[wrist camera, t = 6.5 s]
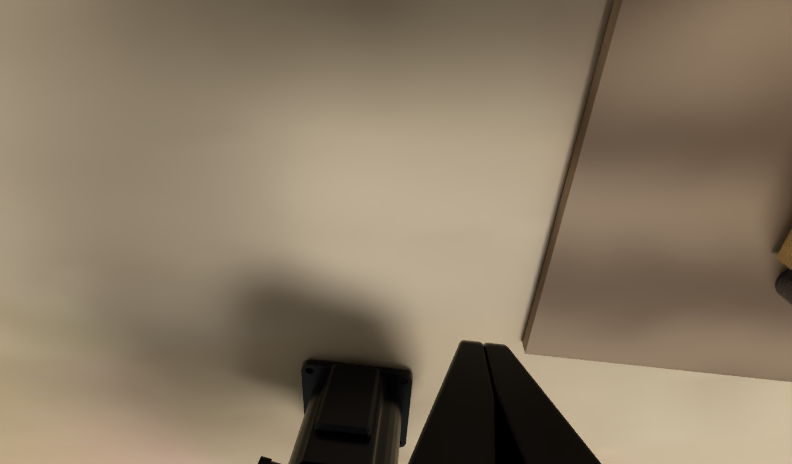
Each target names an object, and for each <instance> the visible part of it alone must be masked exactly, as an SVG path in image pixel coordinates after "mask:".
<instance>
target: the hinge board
mask: <svg viewBox="0 0 792 464" xmlns="http://www.w3.org/2000/svg"><path fill="white" fill-rule="evenodd" d="M791 229H792V0H614V2H613V6H612V10H611V13H610V17H609V21H608V25H607V28H606V32H605V36H604V40H603V43H602V47H601V51H600V54H599V58H598V62H597V66H596V69H595V73H594V77H593V81H592V84H591V88H590V92H589V96H588V99H587V103H586V107H585V111H584V114H583V118H582V122H581V126H580V129H579V133H578V137H577V141H576V144H575V148H574V152H573V156H572V159H571V163H570V167H569V171H568V174H567V178H566V182H565V186H564V189H563V193H562V197H561V201H560V204H559V208H558V212H557V216H556V219H555V223H554V227H553V230H552V234H551V238H550V242H549V245H548V249H547V253H546V257H545V260H544V264H543V268H542V272H541V275H540V279H539V283H538V287H537V290H536V294H535V298H534V302H533V305H532V309H531V313H530V317H529V320H528V324H527V328H526V332H525V335H524V339H523V347H524V351H525V354H533V355H543V356H552V357H562V358H571V359H580V360H590V361H599V362H609V363H618V364H628V365H637V366H647V367H656V368H665V369H675V370H684V371H694V372H703V373H713V374H722V375H731V376H741V377H750V378H760V379H769V380H779V381H788V382H792V305H791V304H789V303H788V302H787V301H786V300H785V299H783V298H782V297H781V296H780V295H779V294H778V293H777V292H776V290H775V283H776V280H777V278H778V277H779V275H780V274H781V273H782V272H783V271H785V270H786V269H787V268H788V267H787V266H785V265H784V264H783V263H781V262H780V261H779V260H777V259H776V256H777V255H778V253H779V251H780V249H781V247H782V245H783V244H784V242H785V240H786V238H787V236H788V234H789V233H790V231H791Z"/></svg>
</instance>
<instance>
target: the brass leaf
mask: <svg viewBox="0 0 792 464" xmlns="http://www.w3.org/2000/svg"><path fill="white" fill-rule="evenodd" d="M776 259H777V260H779V261H780V262H781V263H783V264H784V265H785V266H787V267H788V268H789V269H791V270H792V229H791V231H790V233H789V234H788V236H787V238H786V240H785V242H784V244H783V245H782V247H781V249H780V251H779V253H778V255H777V256H776Z"/></svg>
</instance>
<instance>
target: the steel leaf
mask: <svg viewBox="0 0 792 464" xmlns="http://www.w3.org/2000/svg"><path fill="white" fill-rule="evenodd" d="M775 290H776V292H777V293H778V294H779V295H780V296H781V297H782V298H783V299H785V300H786V301H787V302H788V303H789V304H791V305H792V270H791V269H789V268H787V269H786V270H785V271H783V272H782V273H781V274H780V275H779V277H778V278H777V280H776V283H775Z"/></svg>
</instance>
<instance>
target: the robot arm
mask: <svg viewBox="0 0 792 464" xmlns="http://www.w3.org/2000/svg"><path fill="white" fill-rule="evenodd" d="M310 368H312V369H310ZM301 372H302V387H303V401H304V418H303V421H302V424H301V428H300V431H299V434H298V437H297V440H296V443H295V446H294V449H293V452H292V455H291V458H290V461H289V464H398V456H399V447H403V446H404V445H405V444H406V436H407V426H408V417H409V408H410V398H411V389H412V379H413V376H412V373H411V372H409V371H408V370H402V369H393V368H384V367H375V366H366V365H356V364H347V363H338V362H329V361H320V360H306V361H305V362H304V363H303V366H302V369H301ZM402 378H405V379H402ZM258 464H280V463H276V462H273V461H272V459H270V458H266V457H263V456H261V458H260V460H259V462H258ZM408 464H601V463H600V462H599V460H598V459H597V458H596V457H595V455H594V454H593V453H592V452H591V450H590V449H589V448H588V447H587V445H586V444H585V443H584V442H583V440H582V439H581V438H580V437H579V435H578V434H577V433H576V432H575V430H574V429H573V428H572V427H571V425H570V424H569V423H568V422H567V420H566V419H565V418H564V417H563V415H562V414H561V413H560V412H559V410H558V409H557V408H556V407H555V405H554V404H553V403H552V402H551V400H550V399H549V398H548V397H547V395H546V394H545V393H544V392H543V390H542V389H541V388H540V387H539V385H538V384H537V383H536V382H535V380H534V379H533V378H532V377H531V375H530V374H529V373H528V372H527V370H526V369H525V368H524V367H523V365H522V364H521V363H520V362H519V360H518V359H517V358H516V357H515V355H514V354H513V353H512V352H511V350H510V349H509V348H508V347H507V346H506V345H503V344H494V343H485V344H484V345H483V344H482V343H481V342H475V341H466V340H463V341H461V342H460V343H459V346H458V348H457V350H456V353H455V355H454V357H453V360H452V362H451V364H450V367H449V369H448V371H447V374H446V376H445V379H444V381H443V383H442V386H441V388H440V390H439V393H438V395H437V397H436V400H435V402H434V404H433V407H432V409H431V411H430V414H429V416H428V418H427V421H426V423H425V425H424V428H423V430H422V432H421V435H420V437H419V439H418V442H417V444H416V446H415V449H414V451H413V453H412V456H411V458H410V461H409V463H408Z"/></svg>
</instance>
